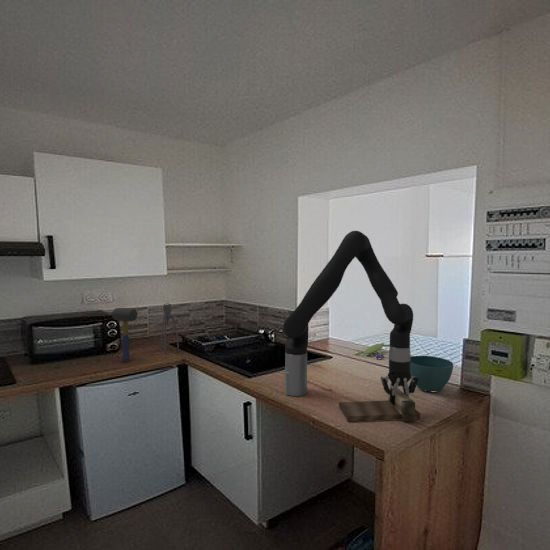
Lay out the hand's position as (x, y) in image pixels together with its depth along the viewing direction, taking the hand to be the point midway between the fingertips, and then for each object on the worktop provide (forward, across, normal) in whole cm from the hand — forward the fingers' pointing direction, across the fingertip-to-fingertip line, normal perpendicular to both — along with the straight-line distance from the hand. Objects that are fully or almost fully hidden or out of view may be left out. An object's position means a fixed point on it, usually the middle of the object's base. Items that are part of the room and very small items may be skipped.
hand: (399, 403), depth 131 cm
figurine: (+4, +22, +77) cm, 81 cm away
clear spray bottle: (+3, -104, +95) cm, 141 cm away
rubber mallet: (+3, -123, +78) cm, 146 cm away
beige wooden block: (+3, 0, -1) cm, 3 cm away
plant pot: (+3, +23, +21) cm, 31 cm away
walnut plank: (+3, -8, 0) cm, 9 cm away
